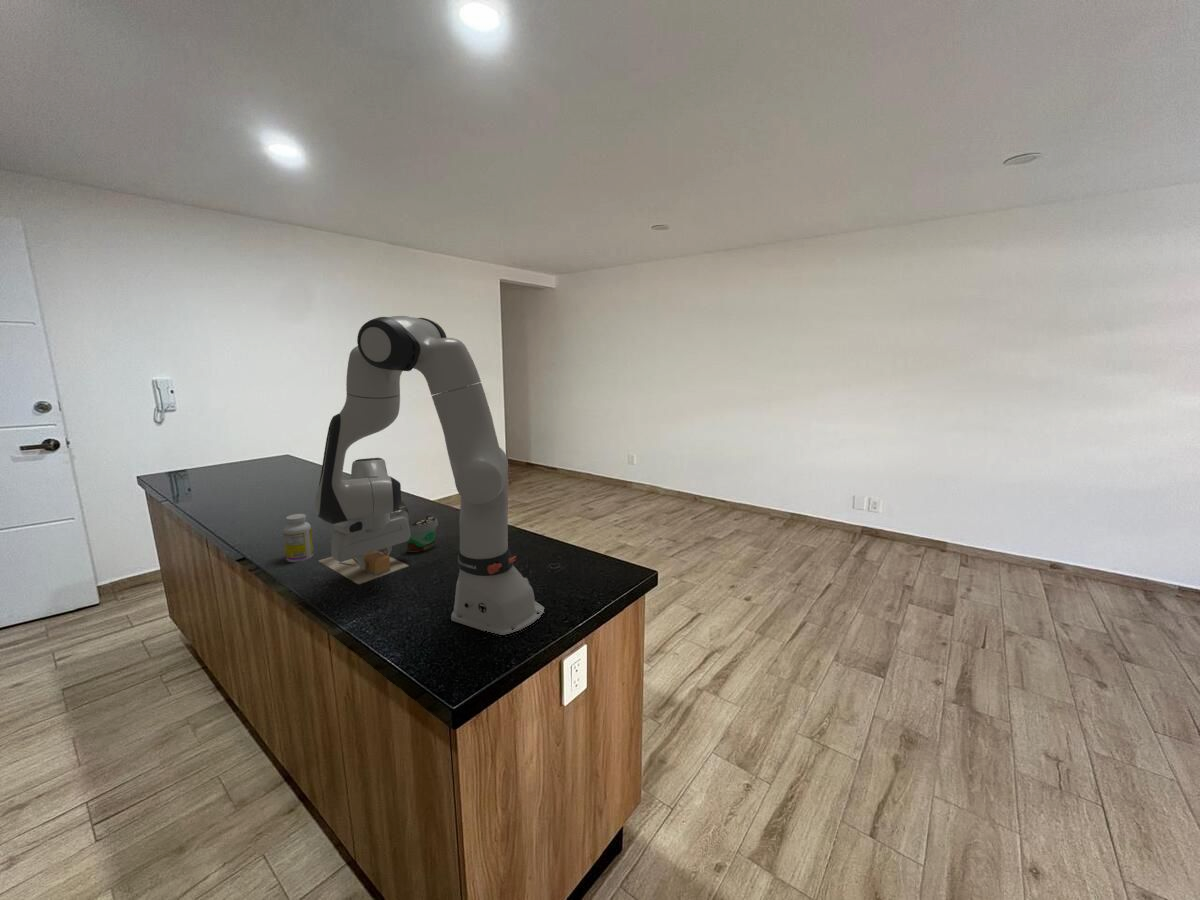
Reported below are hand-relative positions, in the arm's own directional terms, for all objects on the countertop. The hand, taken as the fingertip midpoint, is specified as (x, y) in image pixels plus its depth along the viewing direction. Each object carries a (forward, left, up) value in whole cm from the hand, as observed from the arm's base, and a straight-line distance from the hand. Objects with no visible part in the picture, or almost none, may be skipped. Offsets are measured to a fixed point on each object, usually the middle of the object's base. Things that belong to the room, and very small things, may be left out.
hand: (374, 565), depth 123 cm
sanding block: (0, 0, -1) cm, 1 cm away
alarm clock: (+25, -20, -3) cm, 32 cm away
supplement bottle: (+26, +8, -3) cm, 27 cm away
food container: (+3, -18, -3) cm, 18 cm away
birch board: (+6, 0, -3) cm, 7 cm away
